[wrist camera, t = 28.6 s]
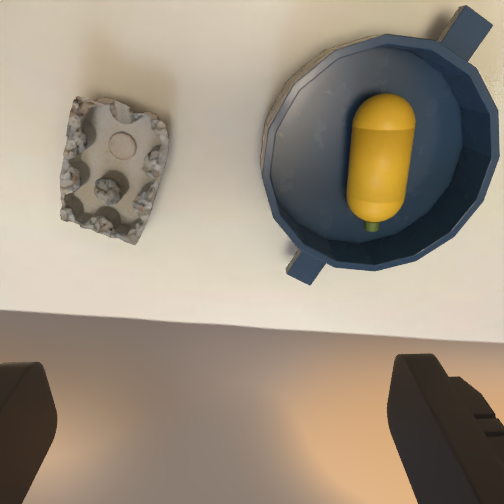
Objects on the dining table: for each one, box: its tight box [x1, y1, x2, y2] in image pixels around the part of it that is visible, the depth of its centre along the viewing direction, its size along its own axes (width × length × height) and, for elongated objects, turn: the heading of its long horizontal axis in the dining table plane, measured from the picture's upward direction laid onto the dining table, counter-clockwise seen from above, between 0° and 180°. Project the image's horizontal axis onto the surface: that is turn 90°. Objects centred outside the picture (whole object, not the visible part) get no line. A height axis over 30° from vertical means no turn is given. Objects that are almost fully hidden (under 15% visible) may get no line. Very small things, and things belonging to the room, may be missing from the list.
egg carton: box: [60, 97, 169, 245], centre depth 34 cm, size 11×8×4 cm
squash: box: [346, 93, 416, 232], centre depth 33 cm, size 11×5×5 cm, turn 1°
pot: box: [260, 5, 500, 285], centre depth 33 cm, size 17×23×5 cm
